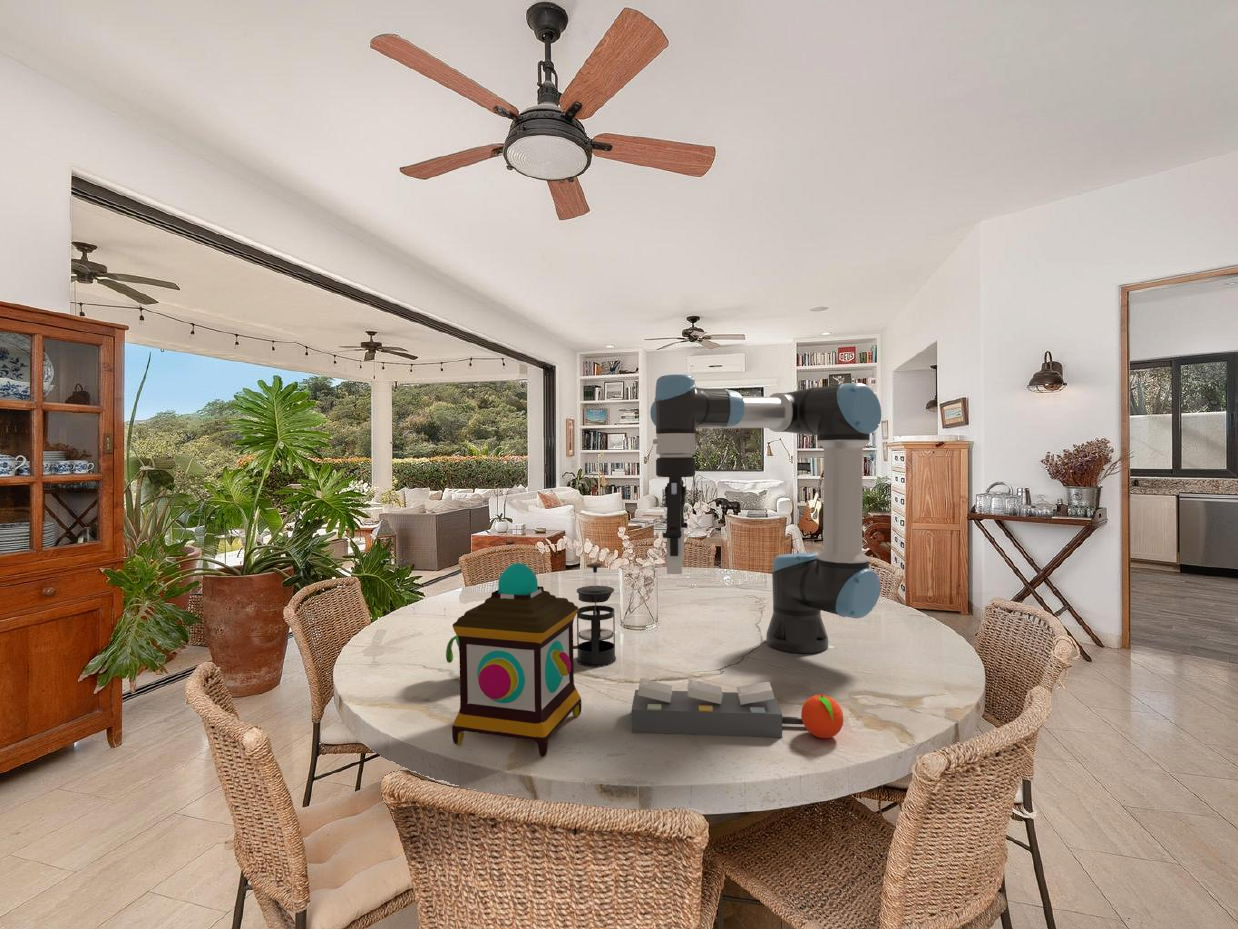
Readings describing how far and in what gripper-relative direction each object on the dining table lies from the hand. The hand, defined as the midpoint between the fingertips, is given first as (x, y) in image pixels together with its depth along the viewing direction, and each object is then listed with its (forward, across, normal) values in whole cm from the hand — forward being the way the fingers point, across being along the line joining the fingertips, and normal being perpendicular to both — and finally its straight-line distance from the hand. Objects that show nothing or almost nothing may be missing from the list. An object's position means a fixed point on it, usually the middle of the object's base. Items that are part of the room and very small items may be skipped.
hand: (676, 567), depth 116 cm
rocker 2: (+21, +6, +5) cm, 23 cm away
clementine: (+27, +9, +26) cm, 39 cm away
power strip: (+27, +6, +8) cm, 29 cm away
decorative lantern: (+28, +12, -27) cm, 41 cm away
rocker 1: (+22, +6, -4) cm, 23 cm away
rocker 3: (+21, +6, +14) cm, 26 cm away
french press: (+28, -25, -21) cm, 43 cm away
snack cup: (+28, -10, -43) cm, 52 cm away
